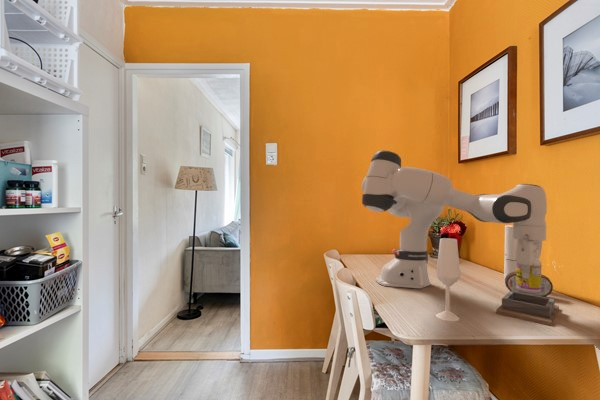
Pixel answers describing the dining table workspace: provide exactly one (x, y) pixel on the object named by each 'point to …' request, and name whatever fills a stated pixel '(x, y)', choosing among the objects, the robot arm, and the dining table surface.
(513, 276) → the tin
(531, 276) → the supplement bottle
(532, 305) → the holder
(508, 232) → the cylindrical container
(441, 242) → the champagne flute
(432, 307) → the dining table surface
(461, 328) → the dining table surface
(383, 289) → the dining table surface
